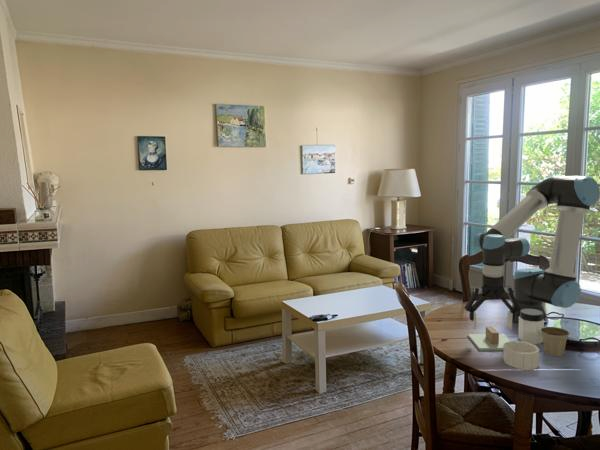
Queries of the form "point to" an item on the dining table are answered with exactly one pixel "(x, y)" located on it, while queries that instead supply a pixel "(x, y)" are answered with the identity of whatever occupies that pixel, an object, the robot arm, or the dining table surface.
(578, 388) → the dining table surface
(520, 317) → the jar
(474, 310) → the robot arm
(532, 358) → the bowl
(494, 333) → the lid
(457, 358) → the dining table surface
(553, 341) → the flower pot
